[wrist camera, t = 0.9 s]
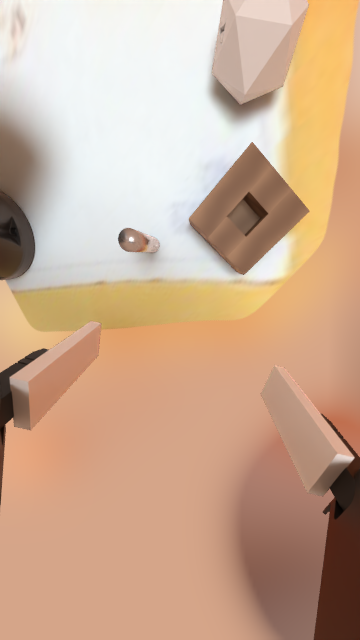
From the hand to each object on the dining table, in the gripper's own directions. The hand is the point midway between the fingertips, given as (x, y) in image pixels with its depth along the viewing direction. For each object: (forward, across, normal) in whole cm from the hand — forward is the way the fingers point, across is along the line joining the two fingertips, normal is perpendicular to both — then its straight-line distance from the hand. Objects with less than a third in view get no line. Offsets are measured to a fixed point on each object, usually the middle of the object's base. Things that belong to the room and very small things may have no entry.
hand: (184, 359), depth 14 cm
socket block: (+22, +5, +14) cm, 26 cm away
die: (+22, 0, +30) cm, 37 cm away
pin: (+22, -8, +7) cm, 24 cm away
